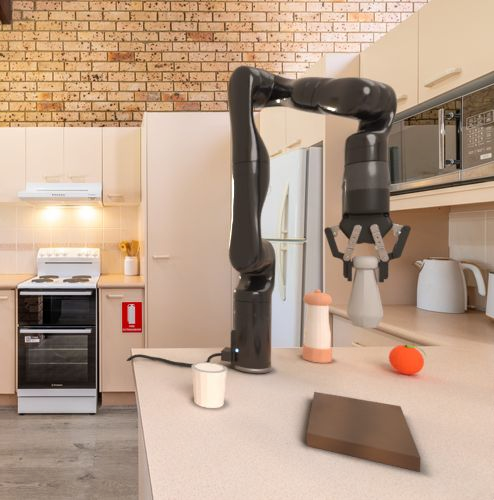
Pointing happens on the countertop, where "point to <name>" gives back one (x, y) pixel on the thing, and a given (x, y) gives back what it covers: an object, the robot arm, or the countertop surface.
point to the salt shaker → (365, 294)
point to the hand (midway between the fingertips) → (364, 281)
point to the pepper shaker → (317, 328)
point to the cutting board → (362, 430)
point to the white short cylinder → (209, 384)
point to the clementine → (406, 359)
